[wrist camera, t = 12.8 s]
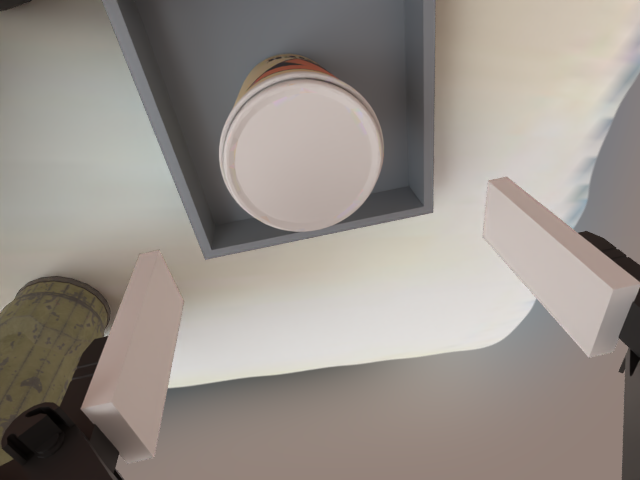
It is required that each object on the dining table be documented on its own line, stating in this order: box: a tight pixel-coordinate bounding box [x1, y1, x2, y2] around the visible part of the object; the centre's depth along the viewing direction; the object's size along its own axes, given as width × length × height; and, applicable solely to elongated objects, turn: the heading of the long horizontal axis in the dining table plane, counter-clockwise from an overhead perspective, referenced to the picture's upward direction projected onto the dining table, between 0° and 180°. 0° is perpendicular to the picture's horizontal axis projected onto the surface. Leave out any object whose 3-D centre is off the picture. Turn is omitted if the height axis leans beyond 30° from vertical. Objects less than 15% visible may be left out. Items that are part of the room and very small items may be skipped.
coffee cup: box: [219, 54, 384, 232], centre depth 27 cm, size 9×9×12 cm
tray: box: [102, 0, 435, 260], centre depth 31 cm, size 20×20×5 cm
